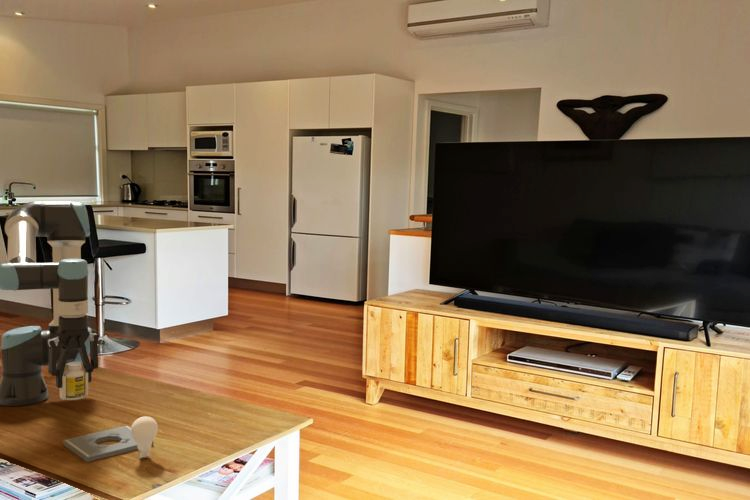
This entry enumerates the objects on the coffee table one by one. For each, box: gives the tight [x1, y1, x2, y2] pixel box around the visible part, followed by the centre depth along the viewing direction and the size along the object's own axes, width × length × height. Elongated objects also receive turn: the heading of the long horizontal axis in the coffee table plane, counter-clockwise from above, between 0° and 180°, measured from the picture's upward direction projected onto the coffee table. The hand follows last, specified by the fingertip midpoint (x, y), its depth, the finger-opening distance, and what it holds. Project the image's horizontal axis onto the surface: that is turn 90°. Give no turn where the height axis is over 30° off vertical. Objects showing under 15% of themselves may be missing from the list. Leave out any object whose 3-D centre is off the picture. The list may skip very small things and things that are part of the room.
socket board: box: [62, 425, 154, 463], centre depth 185 cm, size 16×18×1 cm
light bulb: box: [131, 415, 159, 459], centre depth 176 cm, size 7×7×11 cm
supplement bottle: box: [63, 362, 85, 401], centre depth 191 cm, size 5×5×10 cm
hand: (74, 396), depth 191 cm, fingers closed on supplement bottle, 5 cm apart
